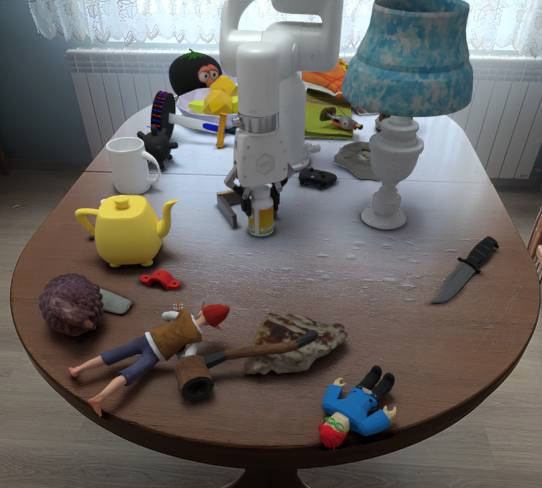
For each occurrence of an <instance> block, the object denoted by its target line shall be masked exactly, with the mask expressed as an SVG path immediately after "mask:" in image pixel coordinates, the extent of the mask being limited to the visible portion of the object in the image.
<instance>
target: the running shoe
mask: <svg viewBox="0 0 542 488" xmlns="http://www.w3.org/2000/svg"><path fill="white" fill-rule="evenodd" d="M344 61H345V60H343V58H338V62H337V65H336V67H335V68H334V69H333V70H332V71H330V72H305V71H301V77H300V78H301V79H302V81H303V83H304V85H305V88H306V89H307V88H310V89H314V90H318V91H322V92H326V93H328V94H330V95H332V96H333V97H336V98H342V99H345V98H344V97H343V95H342V92H341V91H342V84H343V80H344V77H345V73H346V70H347V67H348V65H347V64H346V63H345V62H344Z"/></svg>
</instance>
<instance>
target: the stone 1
mask: <svg viewBox="0 0 542 488" xmlns="http://www.w3.org/2000/svg"><path fill="white" fill-rule="evenodd" d="M100 293H101V294H102V295H103V298H102V302H103V303H104V306H103V308H102V309H103V311H104V312H108V313H112V314H116V315H123V314H125V313H127V312H128V311H129V310H130V307H131V306H132V305H133V302H132V301H131V300H129V299H127V298H125V297H123V296H120V295H118V294H116V293H113V292H111V291H109V290H106V289H104V288H101V287H100Z"/></svg>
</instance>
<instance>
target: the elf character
mask: <svg viewBox="0 0 542 488" xmlns="http://www.w3.org/2000/svg"><path fill="white" fill-rule="evenodd" d="M172 306H173V310H169V311H164V312H163V313H162V314H161V319H162V320H163V321H164V322H165V323H162V324H160V325H156V326H152V327H149V328H148V331H146V332H144V334H143V335H141V336H137V337H136V338H134V339H133V340H131V341H130V342H128V343H126V344H123V345H121V346H117V347H115V348H112V349H108V350H105V351H102V352H100V355H98V356H96V357H94V358H92V359H89V360H87V361H86V362H84V363H82V364H80V365H79V366H75V367H71V366H70V367H68V368H67V369H68V371H69V372H70V375H71V376H72V377H73V378H77V377H78V375H80V374H82V373H83V372H85V371H88V370H91V369H95V368H98V367H102V366H104V365H106V366H108V367H109V366H113V365H114V364H117V363H119V362H121V361H124V360H127V359H129V358H132V357H134V356H136V355H137V356H138V355H140V356H139V358H137V360H135V361H134V363H132V364H131V365H130V366H128V367H126V368H125V369H122V370H120V371H118V372H117V375H116V377H115V378H113V379H112V380H111V381H110V382H109V383H108V384H107V386H106V387H105V388H104V389H103V390H102V391H101V392H99V393H98V394H97V395H95V396H93V397H90V398H88V400H87V401H88V402H87V403H88V404H89V405H90V406H91V407H92V409H93V411H94V412H95V413H96V414H97V415H98V417H99V418H100V417H102V416H103V413H102V403H103V402H104V401H105V400H106V399H107V398H109V397H110V396H112V395H114V394H115V393H116V392H117V391H118V390H120V389H121V388H123V387H129V386H131V385H133V383H134V382H136V381H137V380H138V379H140V378H142V377H143V376H144V375H145V374H146V373H147V372H149V371H150V370H152V369H153V368H154V367H155V366H156V365H157V364H158V363H159V362H160V361H161V362H164V361H166V362H168V361H170V359H171V358H172V357H173V356H176V358H177V360H178V361H180V360H181V359H182V358H183V357H186V356H189V355H197V351H198V348H199V346H200V345H201V342H202V341H203V335H204V333H203V332H204V331H203V330H202V327H203V326H210V327H212V328H213V329H215V330H220V331H222V332H223V331H224V330H223V329H222V328H221V326H220V324H221V323H223V322H224V321H226V319H227V317H228V316H229V314H230V311H231V307H230V306H229V305H224V304H221V303H215V304H214V303H211V304H207V305H206V302H205V298H204V297H203V298H202V303H201V305H200V306H201V307H200V308H201V310H200V311H199V312H198V314H197V315H196V318H195V316H194V315H193V314H191V313H190V312H189V311H187V310H186V309H184V307H183V306H184V303H181V302H180V301H176V302H175V303H173V304H172ZM174 310H175V311H174ZM187 346H188V347H187ZM186 348H187V350H186ZM185 350H186V351H185Z"/></svg>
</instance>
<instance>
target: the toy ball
mask: <svg viewBox="0 0 542 488" xmlns="http://www.w3.org/2000/svg"><path fill="white" fill-rule="evenodd" d="M150 127H151V128H150V131H149V132H147V133H146V134H145V133H144V132H143V131H141V130H138V131H137V132H136V138H139V139H141V140H142V141H143V142H144V147H145V151H146V152H147V153H149V154H150V155H152V156H153V157H154V158H155V159H156V161H157V162H158V165H159V168H160V171H163V170H165V168H166V166H165V163H164V162H165V161H172V160H173V155H172V154H171V153H172V150H177V149H179V144H178V142H176V141H171V140H169V139H168V138H167V137H166V135H167V133H168V130H167V129H166V128H162V130H161V132H159V131H157V127H156V126H155V125H152V126H151V125H150ZM149 162H150V161H149V160H147V163H148V164H149Z"/></svg>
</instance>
